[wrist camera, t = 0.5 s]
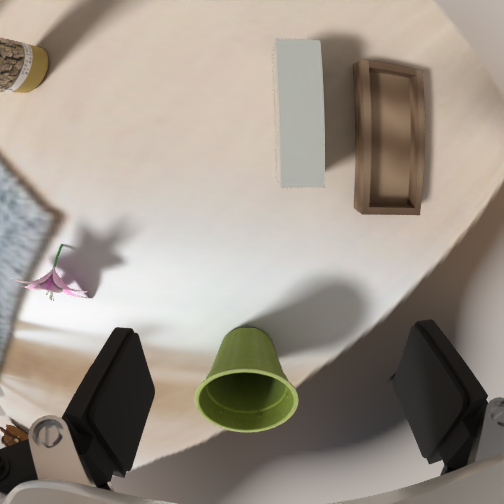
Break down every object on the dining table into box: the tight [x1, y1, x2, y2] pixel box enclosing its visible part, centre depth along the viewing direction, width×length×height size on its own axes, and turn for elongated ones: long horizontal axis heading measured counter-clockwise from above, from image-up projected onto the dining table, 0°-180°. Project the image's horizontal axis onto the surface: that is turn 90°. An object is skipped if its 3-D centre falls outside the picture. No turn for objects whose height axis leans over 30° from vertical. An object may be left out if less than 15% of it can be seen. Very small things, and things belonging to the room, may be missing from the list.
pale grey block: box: [272, 39, 325, 188], centre depth 27 cm, size 14×4×7 cm, turn 2°
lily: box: [11, 244, 87, 301], centre depth 34 cm, size 12×12×10 cm
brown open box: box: [353, 59, 425, 215], centre depth 29 cm, size 17×8×3 cm, turn 2°
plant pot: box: [195, 327, 298, 432], centre depth 36 cm, size 12×12×11 cm
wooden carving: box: [0, 425, 29, 447], centre depth 55 cm, size 16×5×10 cm, turn 58°
